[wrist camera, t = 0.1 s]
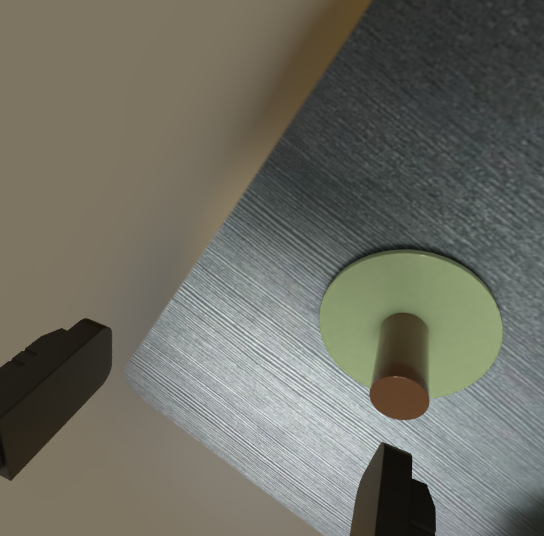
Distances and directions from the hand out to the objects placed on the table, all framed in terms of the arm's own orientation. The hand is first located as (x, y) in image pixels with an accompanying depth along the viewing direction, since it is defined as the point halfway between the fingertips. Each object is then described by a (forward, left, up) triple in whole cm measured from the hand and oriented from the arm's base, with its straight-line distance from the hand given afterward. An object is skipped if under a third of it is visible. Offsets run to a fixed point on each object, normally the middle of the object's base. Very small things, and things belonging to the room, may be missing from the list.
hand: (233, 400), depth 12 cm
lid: (+9, +1, -16) cm, 19 cm away
